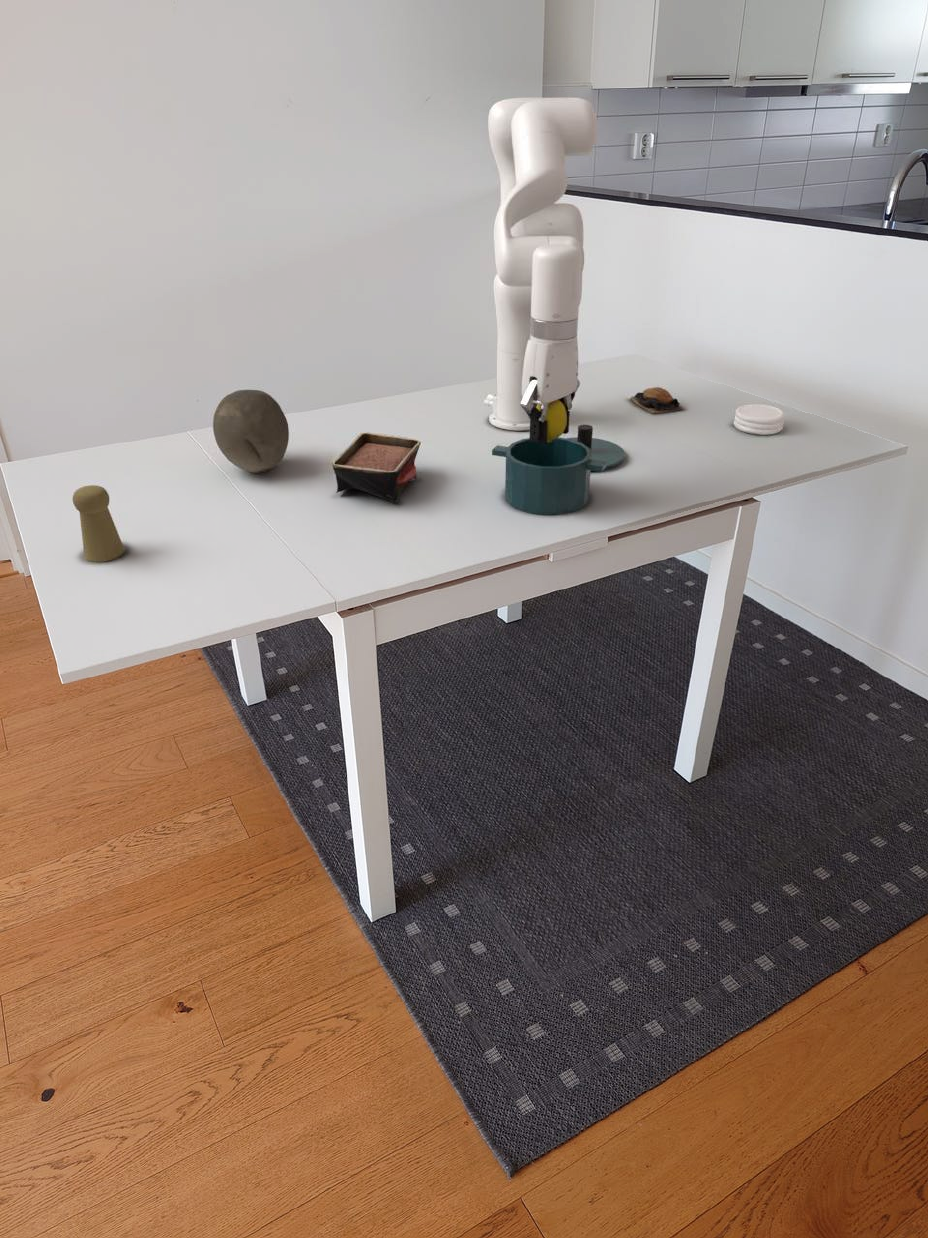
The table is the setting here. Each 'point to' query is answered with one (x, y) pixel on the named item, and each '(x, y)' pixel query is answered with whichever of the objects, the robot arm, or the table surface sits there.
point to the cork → (97, 524)
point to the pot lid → (599, 447)
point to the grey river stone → (251, 430)
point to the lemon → (555, 419)
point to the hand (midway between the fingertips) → (549, 435)
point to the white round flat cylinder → (759, 419)
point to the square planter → (377, 465)
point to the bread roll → (656, 401)
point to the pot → (548, 475)
